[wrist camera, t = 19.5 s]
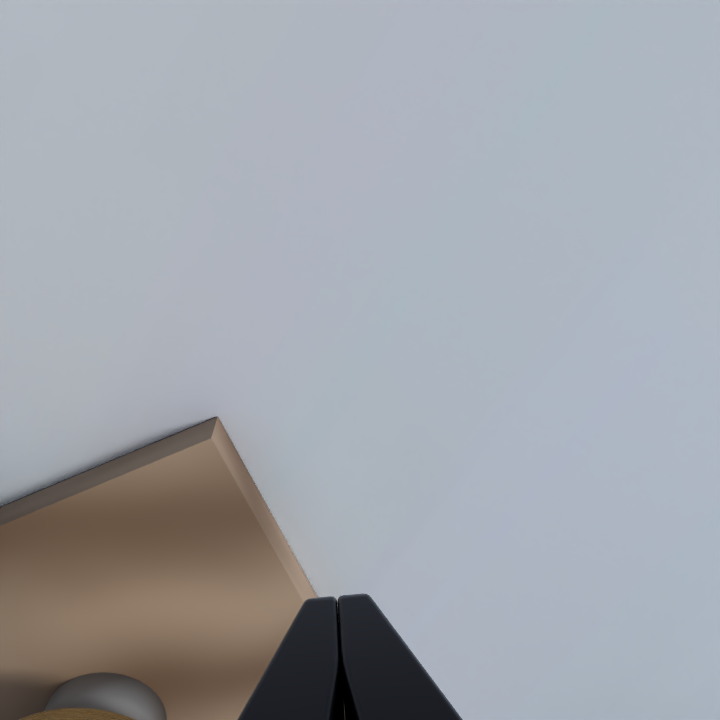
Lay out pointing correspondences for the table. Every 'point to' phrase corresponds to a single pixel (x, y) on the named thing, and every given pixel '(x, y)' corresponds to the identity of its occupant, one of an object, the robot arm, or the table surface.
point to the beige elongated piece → (77, 715)
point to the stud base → (145, 586)
